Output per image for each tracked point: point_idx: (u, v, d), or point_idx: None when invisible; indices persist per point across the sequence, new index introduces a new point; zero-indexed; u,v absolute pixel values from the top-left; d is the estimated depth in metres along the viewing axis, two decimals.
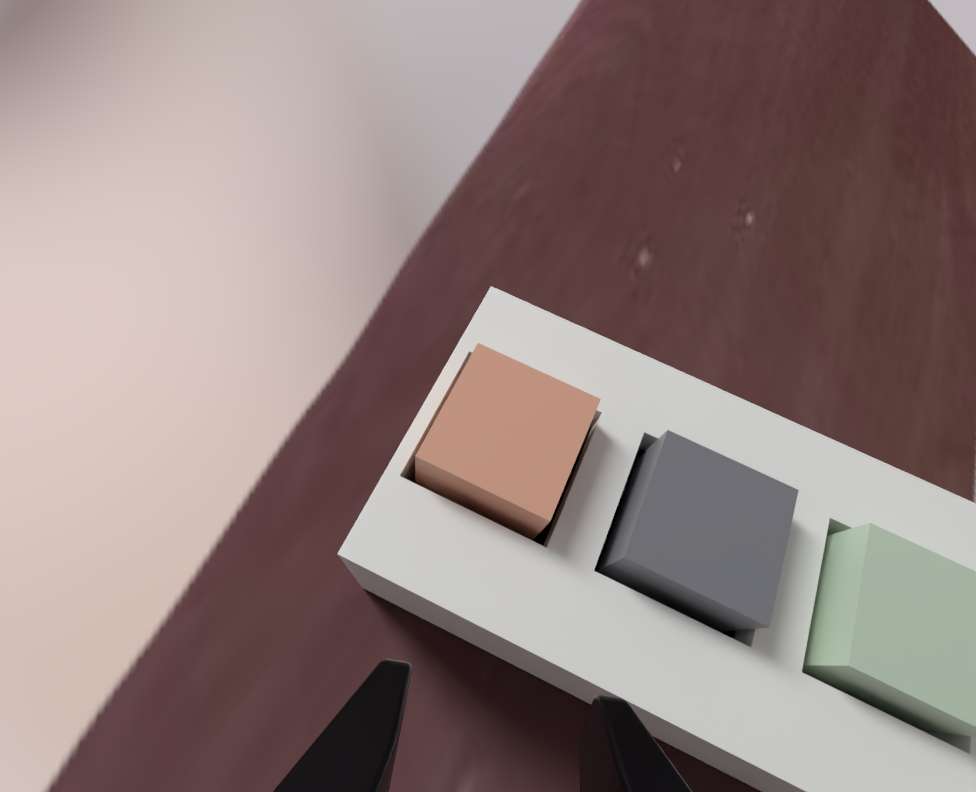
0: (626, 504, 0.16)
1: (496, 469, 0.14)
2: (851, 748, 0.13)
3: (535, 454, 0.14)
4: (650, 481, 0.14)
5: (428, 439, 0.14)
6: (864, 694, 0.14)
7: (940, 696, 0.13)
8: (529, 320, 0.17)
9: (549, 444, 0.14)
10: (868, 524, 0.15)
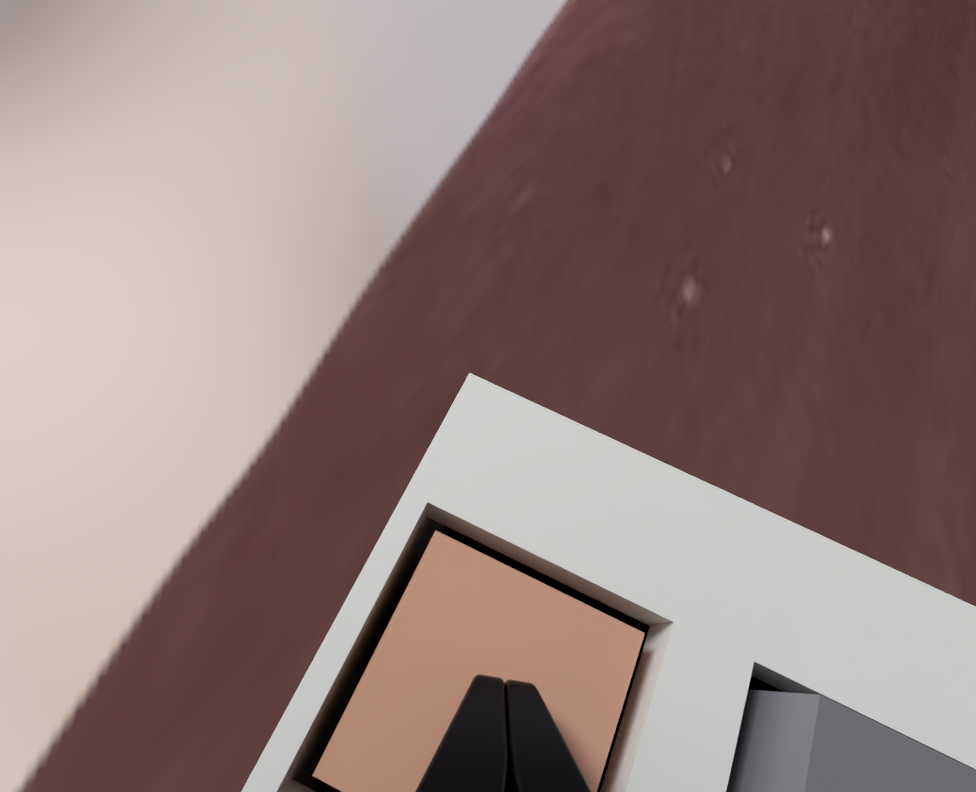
0: None
1: None
2: None
3: None
4: None
5: (338, 738, 0.08)
6: None
7: None
8: (537, 436, 0.10)
9: None
10: None
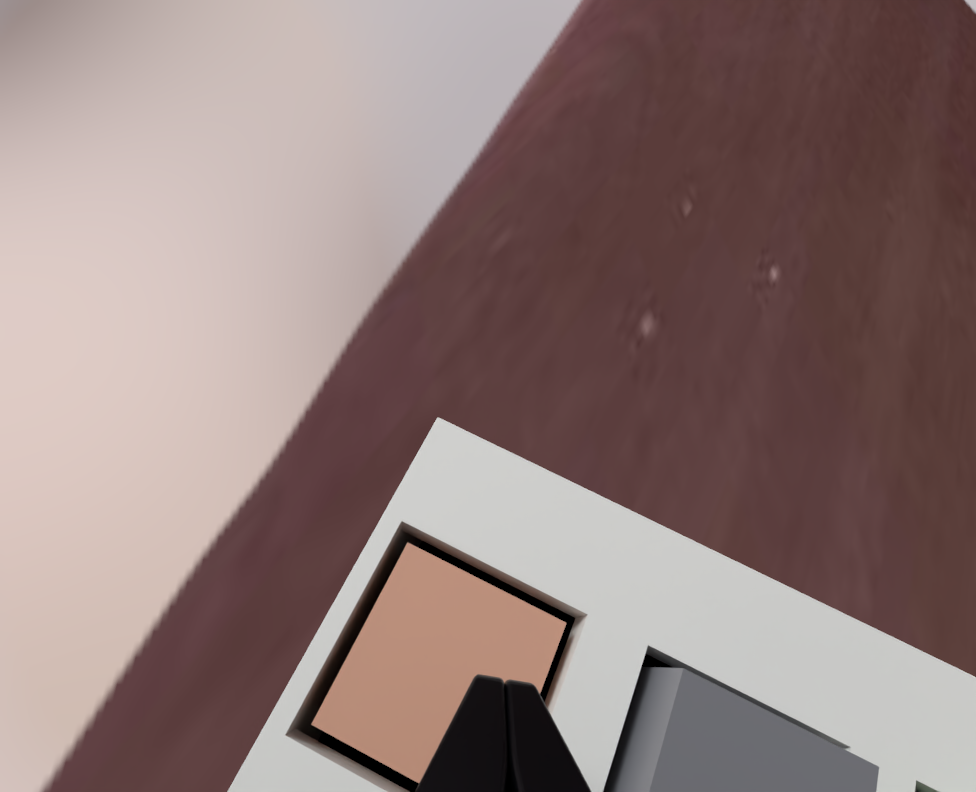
0: (621, 759, 0.11)
1: (421, 740, 0.10)
2: None
3: None
4: (657, 762, 0.09)
5: (331, 697, 0.10)
6: None
7: None
8: (489, 469, 0.12)
9: None
10: None
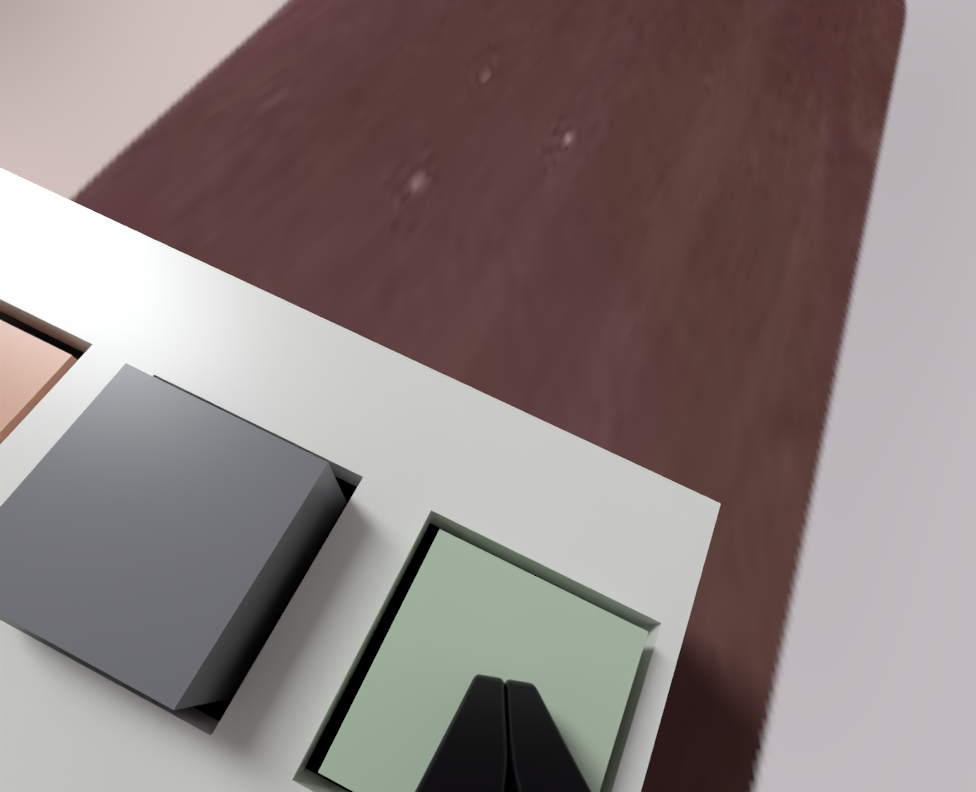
0: None
1: None
2: None
3: None
4: (53, 447, 0.08)
5: None
6: None
7: None
8: (28, 209, 0.11)
9: None
10: (438, 531, 0.09)
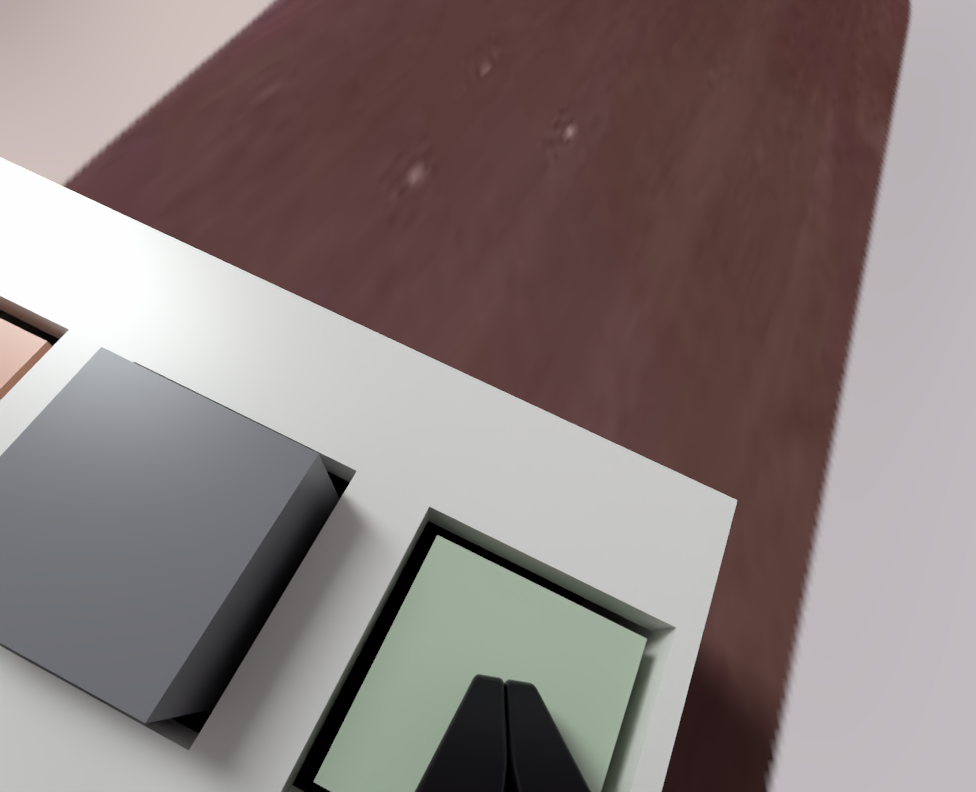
0: None
1: None
2: None
3: None
4: (20, 436, 0.08)
5: None
6: None
7: None
8: (4, 189, 0.11)
9: None
10: (436, 537, 0.09)
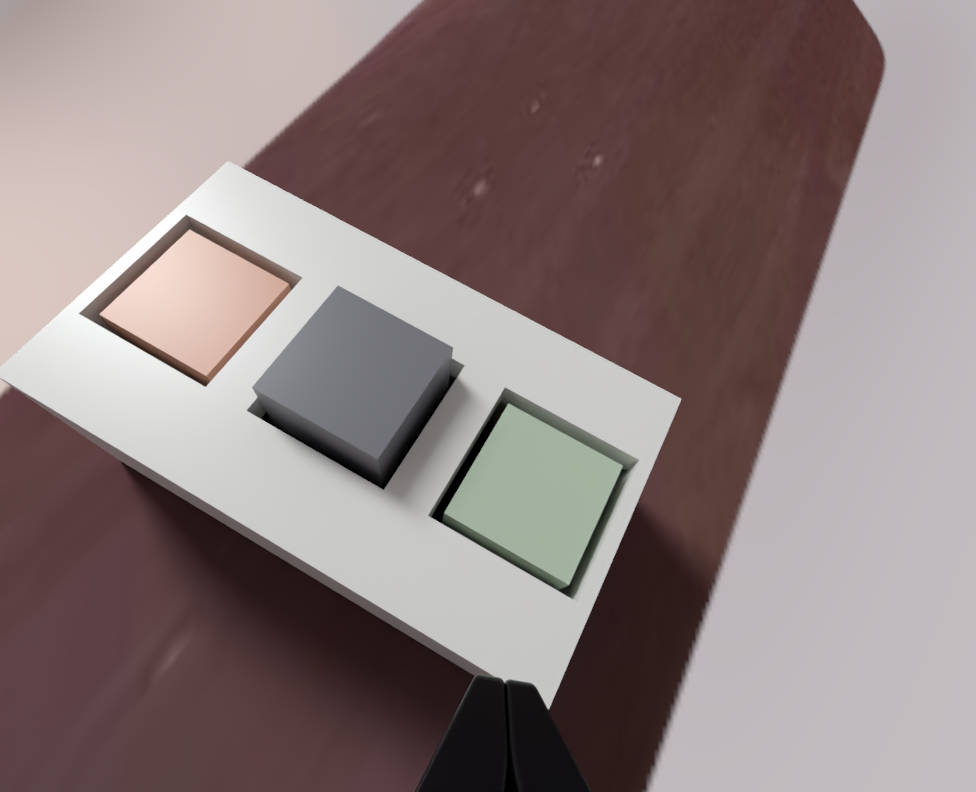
0: None
1: (170, 330, 0.16)
2: (455, 584, 0.14)
3: (211, 322, 0.16)
4: None
5: (115, 302, 0.16)
6: None
7: (521, 544, 0.15)
8: (256, 193, 0.18)
9: (227, 315, 0.16)
10: (507, 405, 0.16)
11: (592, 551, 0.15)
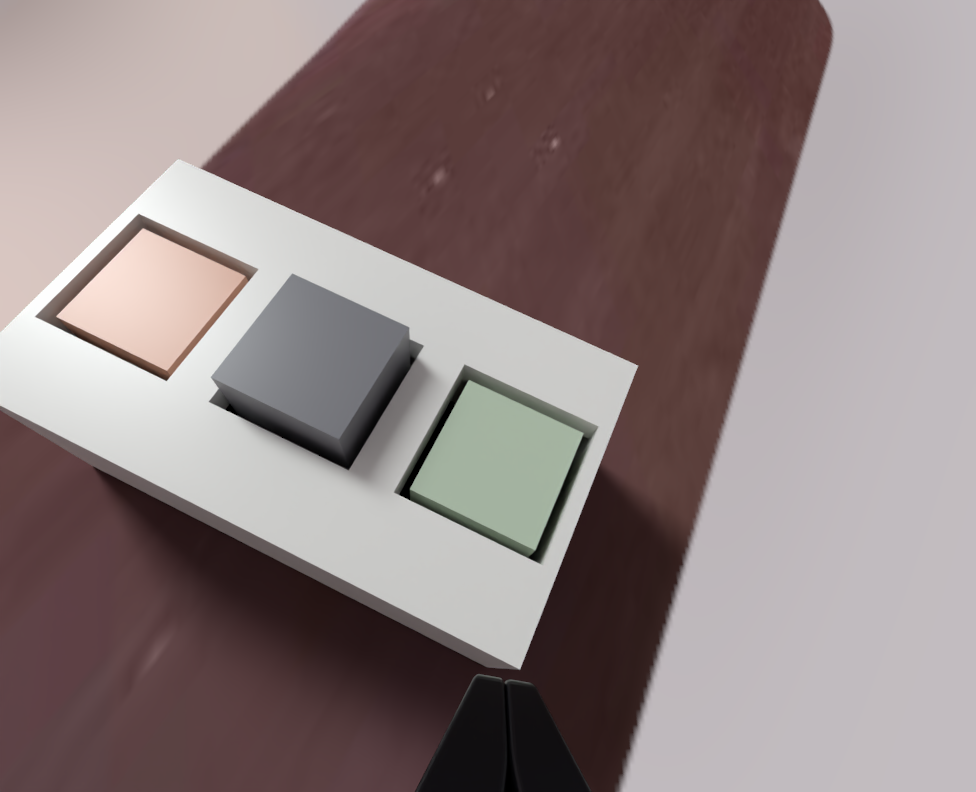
0: None
1: (129, 328, 0.16)
2: (423, 557, 0.14)
3: (169, 318, 0.16)
4: (259, 316, 0.15)
5: (71, 303, 0.16)
6: None
7: (486, 515, 0.15)
8: (208, 189, 0.18)
9: (185, 310, 0.16)
10: (468, 381, 0.17)
11: (558, 518, 0.16)
